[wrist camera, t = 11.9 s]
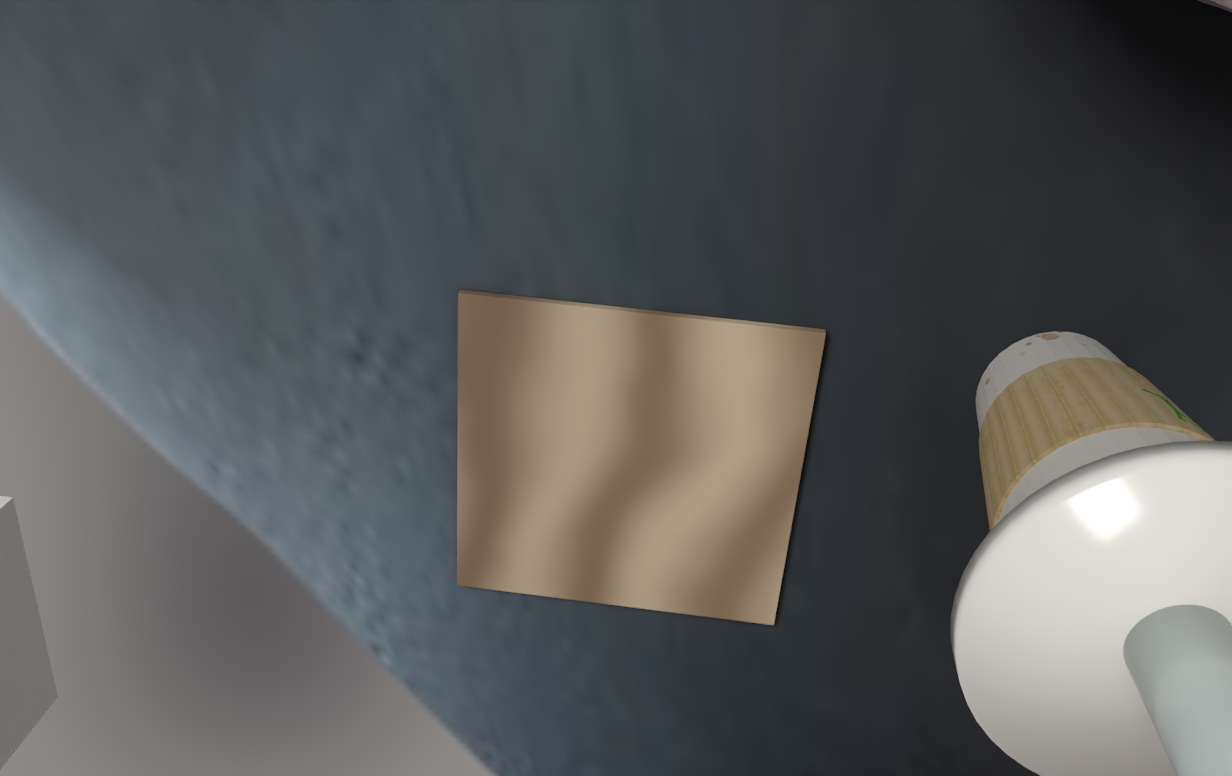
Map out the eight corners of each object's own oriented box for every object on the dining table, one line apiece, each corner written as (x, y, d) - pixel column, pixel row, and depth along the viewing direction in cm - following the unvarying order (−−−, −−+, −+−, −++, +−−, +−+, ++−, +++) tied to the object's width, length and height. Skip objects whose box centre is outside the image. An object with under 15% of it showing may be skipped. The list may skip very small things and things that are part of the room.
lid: (914, 746, 37) (954, 967, 30) (1003, 416, 31) (1080, 594, 24) (1305, 796, 36) (1443, 1037, 29) (1473, 468, 30) (1701, 669, 23)
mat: (458, 580, 55) (456, 585, 55) (460, 289, 48) (458, 292, 47) (773, 619, 54) (773, 625, 54) (825, 329, 47) (826, 333, 46)
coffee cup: (1101, 517, 49) (1230, 770, 36) (897, 455, 49) (952, 687, 36) (1216, 331, 45) (1412, 543, 32) (992, 261, 45) (1095, 445, 31)
